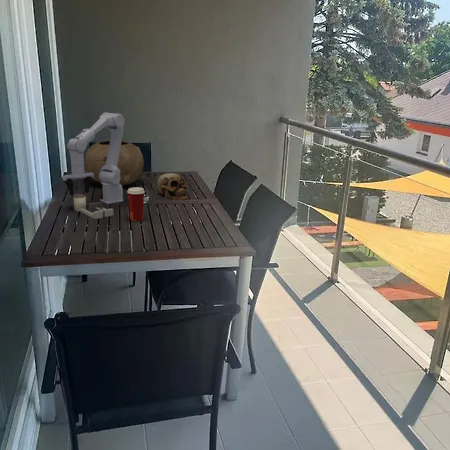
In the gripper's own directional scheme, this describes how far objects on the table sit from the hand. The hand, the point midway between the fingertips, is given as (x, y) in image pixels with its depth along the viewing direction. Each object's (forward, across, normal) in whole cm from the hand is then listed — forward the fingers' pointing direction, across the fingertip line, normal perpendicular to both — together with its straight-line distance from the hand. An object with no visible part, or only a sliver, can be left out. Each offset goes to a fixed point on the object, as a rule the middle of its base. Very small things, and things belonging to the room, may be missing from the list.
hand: (79, 193), depth 212 cm
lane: (+8, -3, +10) cm, 13 cm away
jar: (+8, 0, 0) cm, 8 cm away
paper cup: (+8, -13, +28) cm, 32 cm away
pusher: (+8, -3, +13) cm, 15 cm away
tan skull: (+8, -52, +4) cm, 53 cm away
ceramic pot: (+8, -41, -37) cm, 56 cm away
